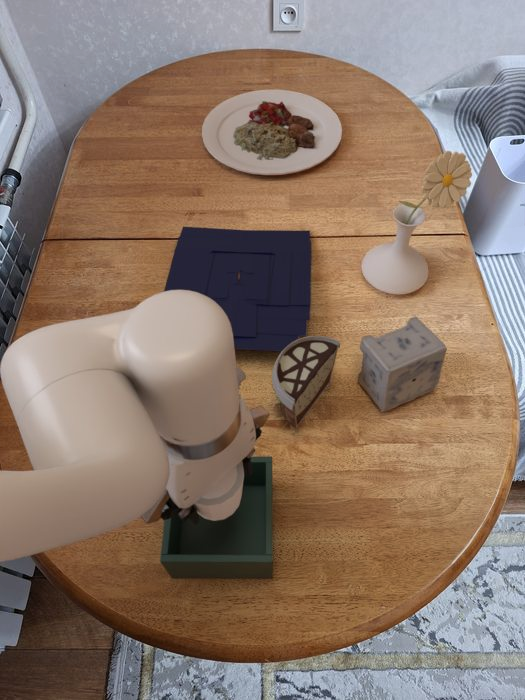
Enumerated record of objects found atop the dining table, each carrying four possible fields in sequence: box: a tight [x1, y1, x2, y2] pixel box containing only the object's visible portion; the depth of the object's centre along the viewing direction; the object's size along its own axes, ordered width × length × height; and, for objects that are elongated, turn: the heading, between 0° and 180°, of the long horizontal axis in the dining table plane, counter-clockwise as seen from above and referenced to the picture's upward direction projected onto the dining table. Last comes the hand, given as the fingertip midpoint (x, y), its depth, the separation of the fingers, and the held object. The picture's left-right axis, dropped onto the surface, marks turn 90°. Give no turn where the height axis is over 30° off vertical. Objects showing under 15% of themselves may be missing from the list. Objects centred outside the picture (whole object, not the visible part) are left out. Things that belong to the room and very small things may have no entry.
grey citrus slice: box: [271, 335, 341, 430], centre depth 79 cm, size 12×6×10 cm, turn 145°
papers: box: [163, 226, 312, 352], centre depth 93 cm, size 24×30×4 cm
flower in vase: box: [360, 150, 473, 295], centre depth 86 cm, size 13×11×25 cm
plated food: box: [201, 89, 343, 176], centre depth 118 cm, size 30×30×3 cm
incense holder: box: [357, 316, 448, 413], centre depth 79 cm, size 10×8×10 cm
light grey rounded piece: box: [193, 461, 244, 521], centre depth 59 cm, size 7×7×7 cm
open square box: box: [159, 456, 274, 580], centre depth 68 cm, size 13×13×8 cm
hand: (214, 489), depth 60 cm, fingers closed on light grey rounded piece, 6 cm apart
